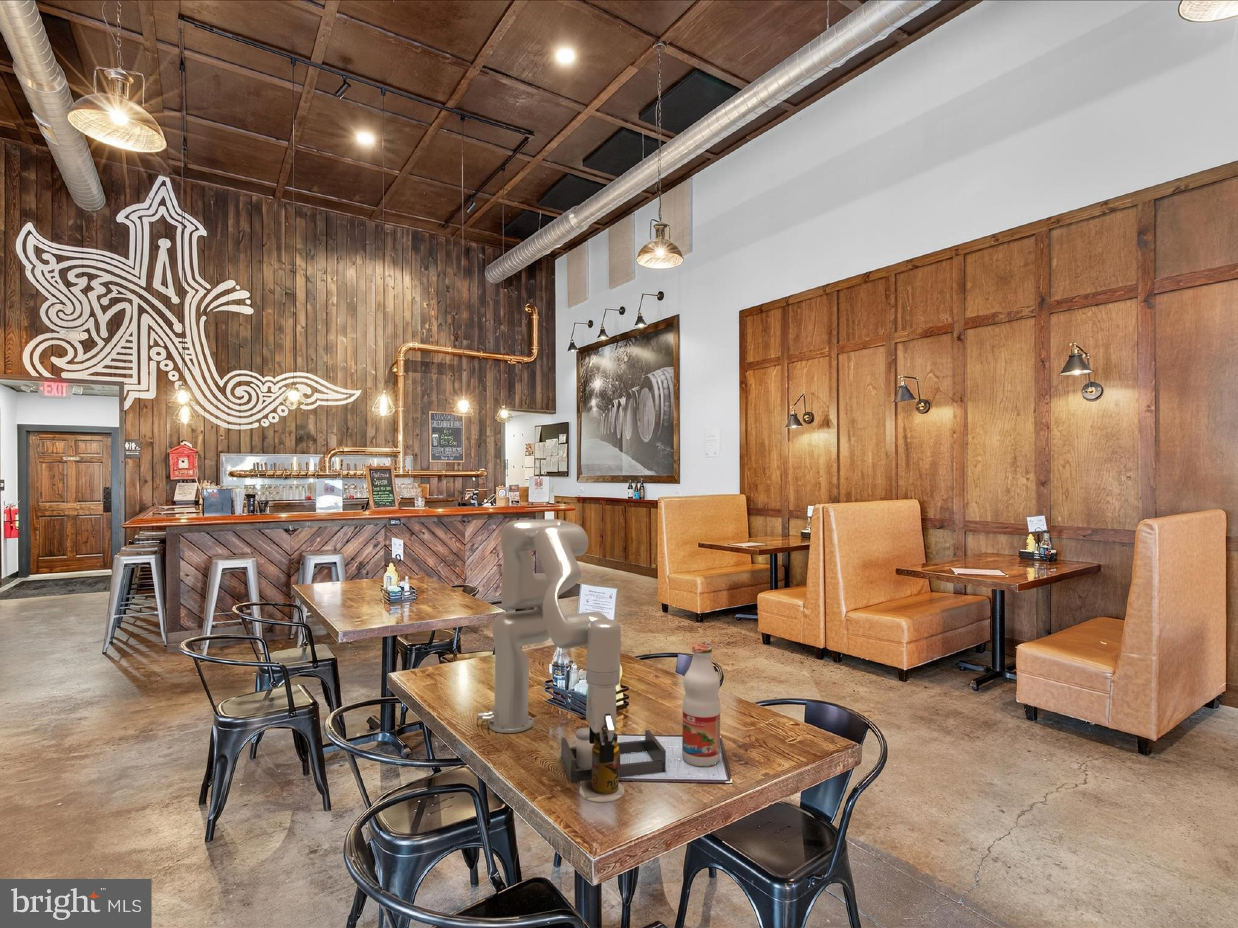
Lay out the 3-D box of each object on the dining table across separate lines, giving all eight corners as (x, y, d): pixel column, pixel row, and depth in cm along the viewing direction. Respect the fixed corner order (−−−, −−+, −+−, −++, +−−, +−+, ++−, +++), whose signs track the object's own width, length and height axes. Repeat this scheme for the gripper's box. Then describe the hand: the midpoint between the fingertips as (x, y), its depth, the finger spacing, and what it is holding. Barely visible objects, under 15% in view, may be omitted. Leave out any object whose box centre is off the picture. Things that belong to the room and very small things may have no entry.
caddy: (570, 782, 144) (571, 760, 144) (561, 758, 156) (561, 738, 156) (665, 771, 150) (665, 750, 150) (648, 749, 162) (649, 729, 162)
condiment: (623, 794, 138) (624, 739, 138) (585, 798, 136) (586, 742, 136) (615, 779, 145) (616, 726, 145) (579, 782, 143) (580, 729, 143)
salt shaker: (577, 768, 151) (578, 735, 151) (574, 761, 155) (574, 728, 155) (594, 767, 152) (595, 733, 152) (590, 759, 156) (591, 727, 156)
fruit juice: (727, 759, 157) (728, 647, 158) (703, 771, 150) (704, 653, 151) (698, 747, 164) (699, 639, 165) (674, 758, 157) (675, 645, 158)
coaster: (584, 804, 134) (584, 802, 134) (575, 782, 144) (575, 781, 144) (629, 799, 136) (629, 797, 136) (617, 778, 146) (617, 776, 146)
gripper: (579, 664, 148) (577, 737, 148) (595, 690, 132) (593, 771, 131) (609, 663, 150) (607, 734, 150) (629, 687, 134) (627, 768, 133)
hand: (601, 752), depth 141 cm, fingers open, 9 cm apart
